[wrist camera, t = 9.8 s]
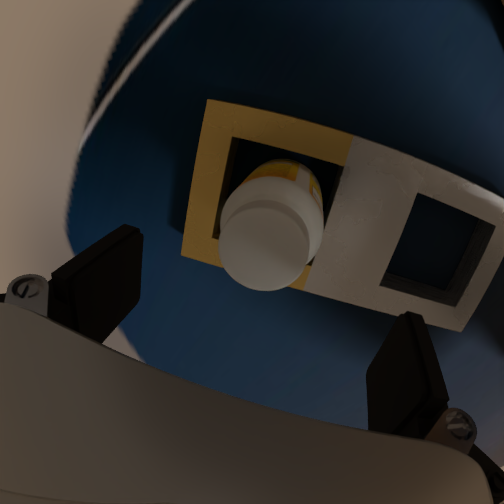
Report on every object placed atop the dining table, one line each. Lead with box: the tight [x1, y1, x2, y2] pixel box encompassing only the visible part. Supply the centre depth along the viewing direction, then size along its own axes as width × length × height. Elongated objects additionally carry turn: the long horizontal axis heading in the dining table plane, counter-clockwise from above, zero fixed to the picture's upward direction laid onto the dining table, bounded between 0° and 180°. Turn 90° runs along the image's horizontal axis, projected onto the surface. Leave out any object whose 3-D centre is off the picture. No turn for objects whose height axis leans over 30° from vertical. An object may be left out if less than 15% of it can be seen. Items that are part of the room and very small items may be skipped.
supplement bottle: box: [218, 159, 324, 291], centre depth 18 cm, size 5×5×10 cm
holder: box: [181, 99, 504, 332], centre depth 21 cm, size 23×11×3 cm, turn 77°
